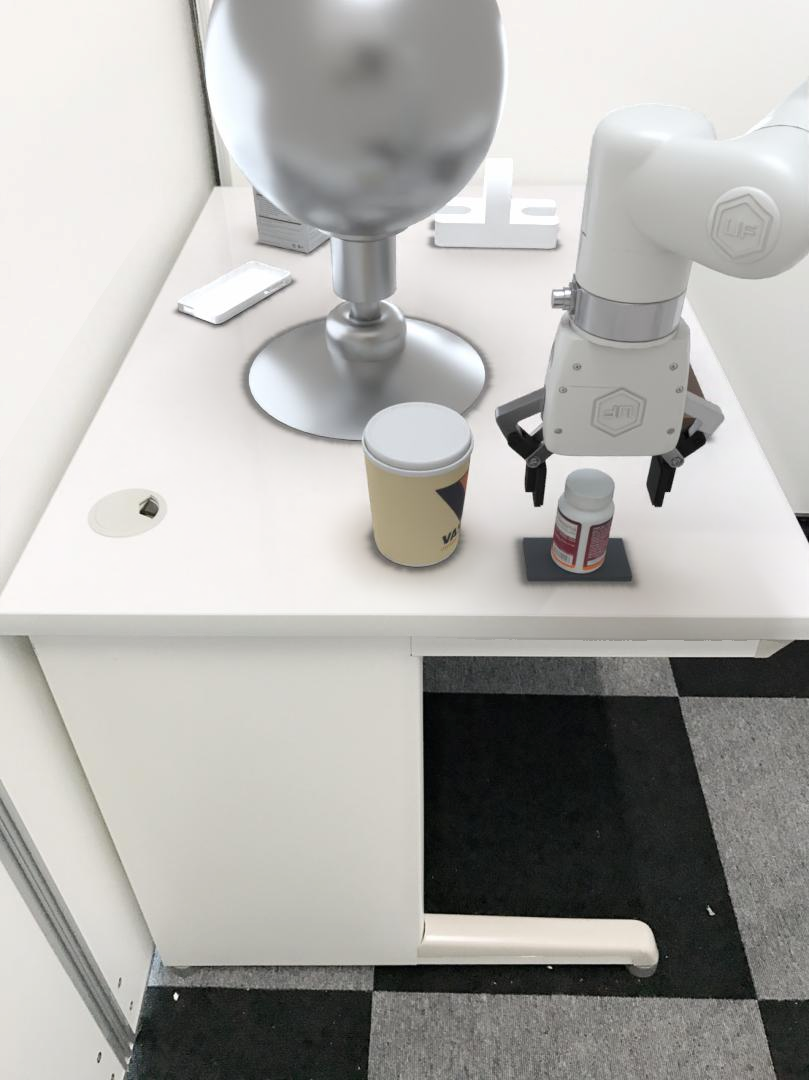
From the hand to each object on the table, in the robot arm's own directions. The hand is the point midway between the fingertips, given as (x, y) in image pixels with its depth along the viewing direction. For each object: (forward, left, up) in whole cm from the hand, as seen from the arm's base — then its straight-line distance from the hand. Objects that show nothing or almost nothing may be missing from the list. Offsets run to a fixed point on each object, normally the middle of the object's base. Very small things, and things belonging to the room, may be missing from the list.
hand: (594, 496), depth 70 cm
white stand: (+29, -66, -8) cm, 72 cm away
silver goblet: (+31, -23, -8) cm, 39 cm away
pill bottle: (+1, 0, -7) cm, 7 cm away
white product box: (+56, -54, -8) cm, 78 cm away
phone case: (+55, -34, -8) cm, 65 cm away
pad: (+1, 0, -8) cm, 8 cm away
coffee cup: (+15, +2, -8) cm, 17 cm away
